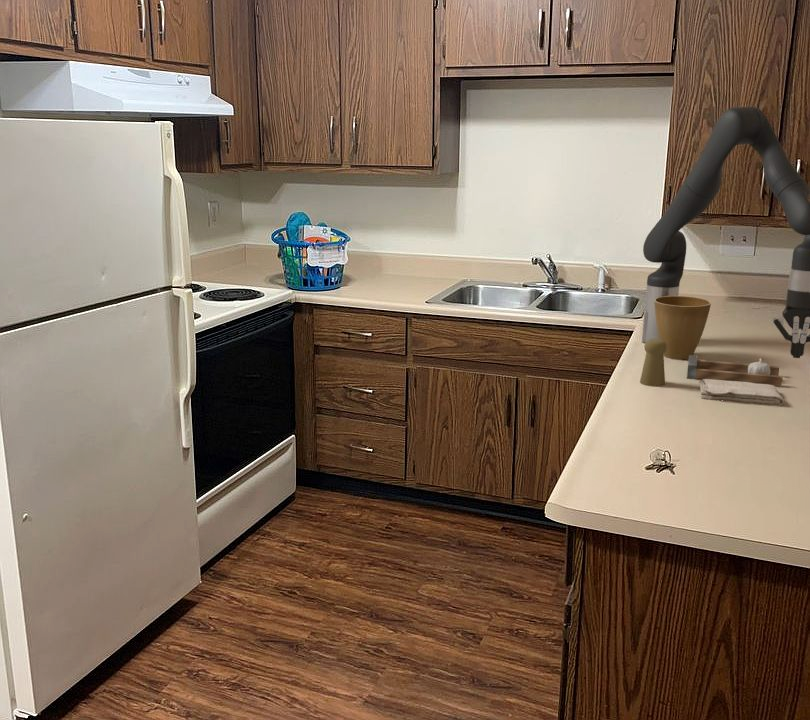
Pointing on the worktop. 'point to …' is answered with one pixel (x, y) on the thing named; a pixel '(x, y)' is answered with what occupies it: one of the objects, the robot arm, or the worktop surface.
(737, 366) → the guide track
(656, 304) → the plant pot
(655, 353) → the olive green shaker
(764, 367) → the garlic
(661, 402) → the worktop surface
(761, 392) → the washcloth
